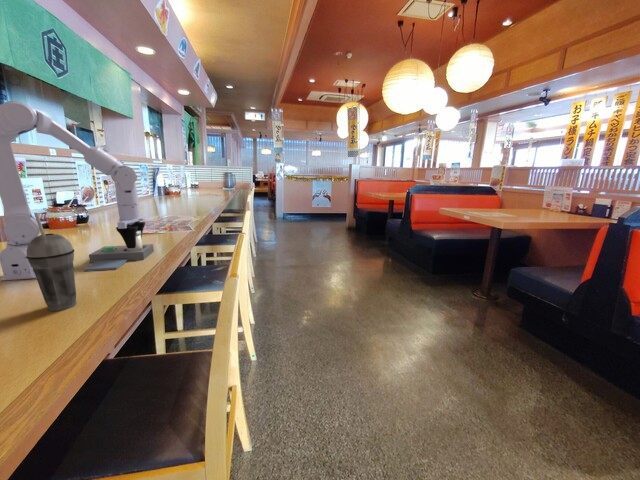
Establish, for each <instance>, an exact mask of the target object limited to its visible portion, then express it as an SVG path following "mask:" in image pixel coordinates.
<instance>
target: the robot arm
mask: <svg viewBox="0 0 640 480" xmlns="http://www.w3.org/2000/svg"><path fill="white" fill-rule="evenodd" d="M35 129H36V130H35ZM34 130H35V131H36V133H38V134H43V135H48V136H52V137H53V138H55V139H57V140H59V142H62V143H63V144H65V145H66V146H67V147H70V148H71V149H73V150H74V151H76V152H78V153H79V154H80V155H82V156H83V159H84V162H85V163H86V164H88V165H90V166H91V167H93V168H94V169H96V170H98V171H99V172H101V173H102V174H104V175H105V176H106V177H107V176H108V177H109V176H110V178H111V180H112V181H113V182H114V186H115V198H116V204H117V209H118V210H117V212H118V217H119V219H118V222H117V223H116V224H117V226H116V227H115V229H116V232H117V233H118V234H119V235H120V236H121V237H122V239H123V241H124V245H126V246H127V248H135V247H136V233H137V230H139V231H141V240H142V241H143V231H144V229H145V226H146V222H145V220H146V218H145V217H143V215H142V214H141V211H140V203H139V197H138V190H137V185H136V182H137V180H138V175H137V173H136V172H135V170H134V169H133V168H132V167H130V166H127V165H124V163H125V162H124V161H123V160H119V159H117V158H116V157H114V156H113V155H112V154H110V153H109V150H108V149H106V148H105V147H103V148H101V147H100V146H90V145H89V144H87V143H86V142H85V141H83V140H82V139H80V138H79V137H77V136H76V135H75V134H74V133H72V132H71V131H69V130H68V129H66V128H65V127H64V126H63V125H61V124H60V123H58V122H57V121H55V120H53V119H52V118H50V117H49V116H47V115H46V114H44V113H42V112H40V111H39V110H37V109H36V110H35V111H34V109H33V108H32V107H31V106H30V105H28V104H26V103H24V102H22V101H19V100H8V101H4V102H3V103H1V104H0V201H1V203H2V206H3V207H2V208H3V213H4V218H5V225H4V229H3V233H4V235H5V237H6V238H7V240H6V243H5V244H6V247H5V248H4V249H2V250H0V265H1V271H2V273H3V277H1V278H0V281H9V280H10V281H12V280H13V281H14V280H28V279H37V278H36V276H35V273H34V270H33V268H32V267H31V265H30V263H29V261H28V259H27V258H26V256H27V247H28V245H29V243H30V242H31V241H32V240H33V239H34V238H35V237H37V236H39V235H40V229H39V226H38V223H37V220H36V218H35V216H33V214H32V211H31V208H30V206H29V204H28V200H27V196H26V193H25V189H24V186H23V182H22V180H21V176H20V172H19V167H18V165H17V162H16V158H15V155H14V152H13V148H12V145H11V144H12V143H13V142H14V141H15V140H16V139H17V138H19V137H20V135H23V134H26V133H29V132H32V131H34Z"/></svg>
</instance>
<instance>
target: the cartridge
mask: <svg viewBox="0 0 640 480" xmlns="http://www.w3.org/2000/svg"><path fill="white" fill-rule="evenodd" d="M142 245H143V239H142V240H141V231H139V230H137V233H136V247H135V248H127V251H137V250H142V249H143V247H142ZM126 247H127V246H126Z"/></svg>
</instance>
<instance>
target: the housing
mask: <svg viewBox="0 0 640 480" xmlns="http://www.w3.org/2000/svg"><path fill="white" fill-rule="evenodd" d="M113 246H114V248H115V250H114V251H103V248H104V247H107V246H103V247H100V248H99V249H96V250H95V251H94V252H91V253H90V254H89V253H88V260H89V263H92V264H94V263H95V262H97V261H103V260H121V259H128V261H142V260H143V261H144V260H146V259H147V258H148V257H150V255H152V254H153V253H154V252H155V248H154V244H151V243H150V244H142V247H143V249H142V250H137V251H127V247H126V244H124V245H113Z"/></svg>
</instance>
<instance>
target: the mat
mask: <svg viewBox="0 0 640 480" xmlns="http://www.w3.org/2000/svg"><path fill="white" fill-rule="evenodd" d="M127 262H129V260H128V259H121V260H103V261H97V262H93V263H92V264H91V265H89V266H87V267H86V268H84V272H97V271H110V270H111V271H113V270H118V269H119V268H120V267H122V266H123V265H125V263H127Z"/></svg>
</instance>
